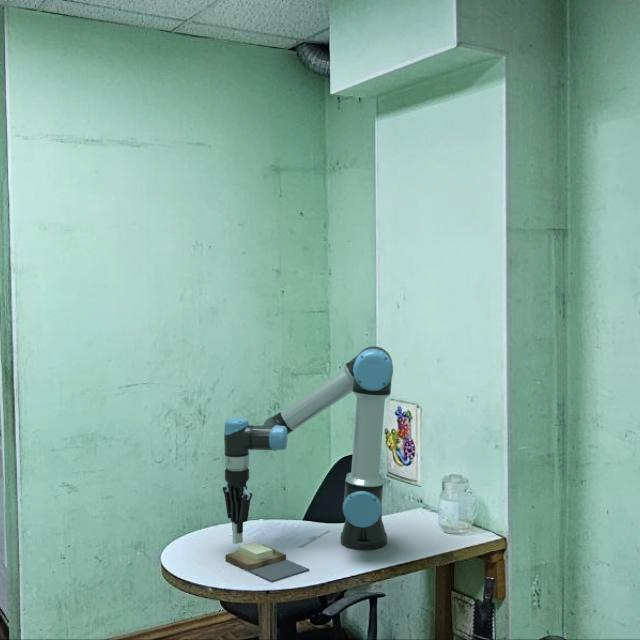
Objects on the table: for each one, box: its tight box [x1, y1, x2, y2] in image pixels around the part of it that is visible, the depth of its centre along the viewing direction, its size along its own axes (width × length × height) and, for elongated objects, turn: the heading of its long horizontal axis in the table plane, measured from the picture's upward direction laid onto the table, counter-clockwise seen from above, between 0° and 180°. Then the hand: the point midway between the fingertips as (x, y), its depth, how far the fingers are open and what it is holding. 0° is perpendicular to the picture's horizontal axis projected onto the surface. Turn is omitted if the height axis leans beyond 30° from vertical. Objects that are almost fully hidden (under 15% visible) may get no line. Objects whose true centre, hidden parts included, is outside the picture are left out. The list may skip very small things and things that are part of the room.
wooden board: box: [225, 544, 287, 573], centre depth 255 cm, size 14×12×2 cm
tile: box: [238, 542, 273, 561], centre depth 255 cm, size 9×6×2 cm, turn 41°
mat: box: [249, 559, 310, 583], centre depth 246 cm, size 14×10×1 cm
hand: (237, 542), depth 262 cm, fingers closed
